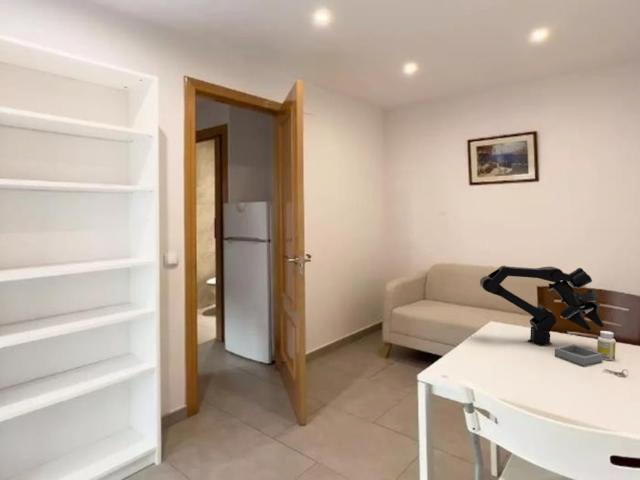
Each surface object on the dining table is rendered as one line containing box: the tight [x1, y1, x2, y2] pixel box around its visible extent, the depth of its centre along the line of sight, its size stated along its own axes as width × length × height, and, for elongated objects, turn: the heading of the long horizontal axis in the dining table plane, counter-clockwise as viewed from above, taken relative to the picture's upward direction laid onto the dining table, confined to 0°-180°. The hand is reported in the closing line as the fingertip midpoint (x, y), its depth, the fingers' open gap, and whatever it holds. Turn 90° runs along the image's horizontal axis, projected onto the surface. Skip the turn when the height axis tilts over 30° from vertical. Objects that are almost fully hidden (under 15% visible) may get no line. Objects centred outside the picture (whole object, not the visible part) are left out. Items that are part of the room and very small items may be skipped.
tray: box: [554, 344, 604, 367], centre depth 142 cm, size 11×11×3 cm
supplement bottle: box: [596, 330, 617, 361], centre depth 143 cm, size 5×5×10 cm
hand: (596, 328), depth 146 cm, fingers open, 9 cm apart
